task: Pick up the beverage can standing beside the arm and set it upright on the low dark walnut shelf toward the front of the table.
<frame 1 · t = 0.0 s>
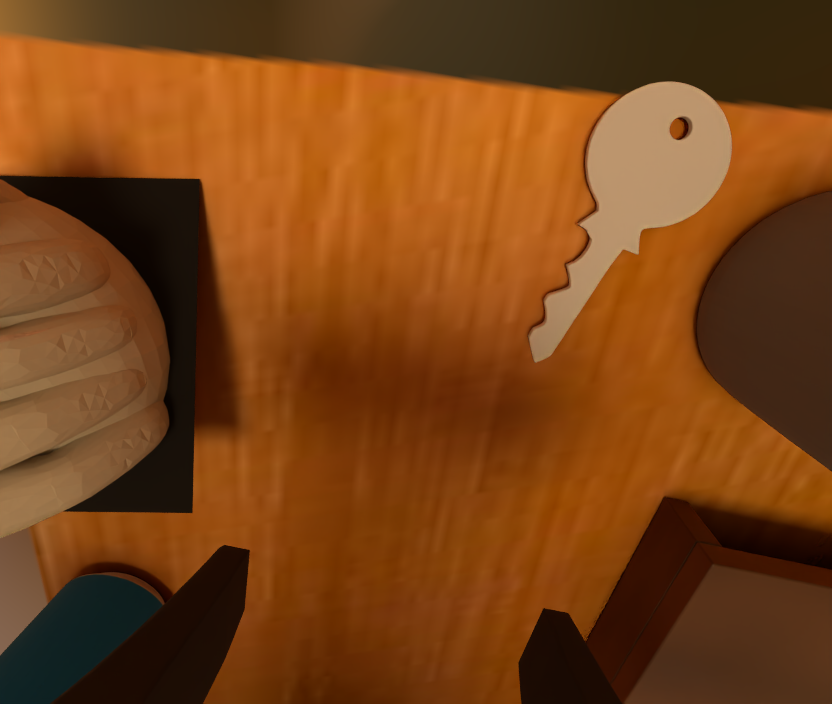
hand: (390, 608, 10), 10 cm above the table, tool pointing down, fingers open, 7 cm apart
shelf: (714, 617, 24), on the table
beverage can: (127, 599, 26), on the table
key: (542, 207, 16), on the table
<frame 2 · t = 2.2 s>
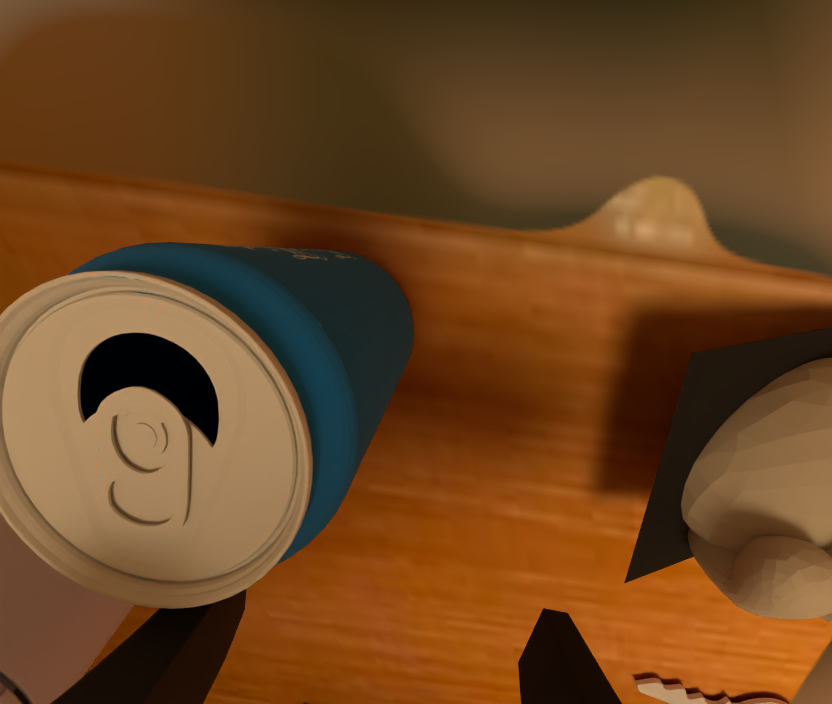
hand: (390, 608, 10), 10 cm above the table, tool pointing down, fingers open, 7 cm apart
beverage can: (341, 327, 18), on the table
key: (744, 684, 25), on the table
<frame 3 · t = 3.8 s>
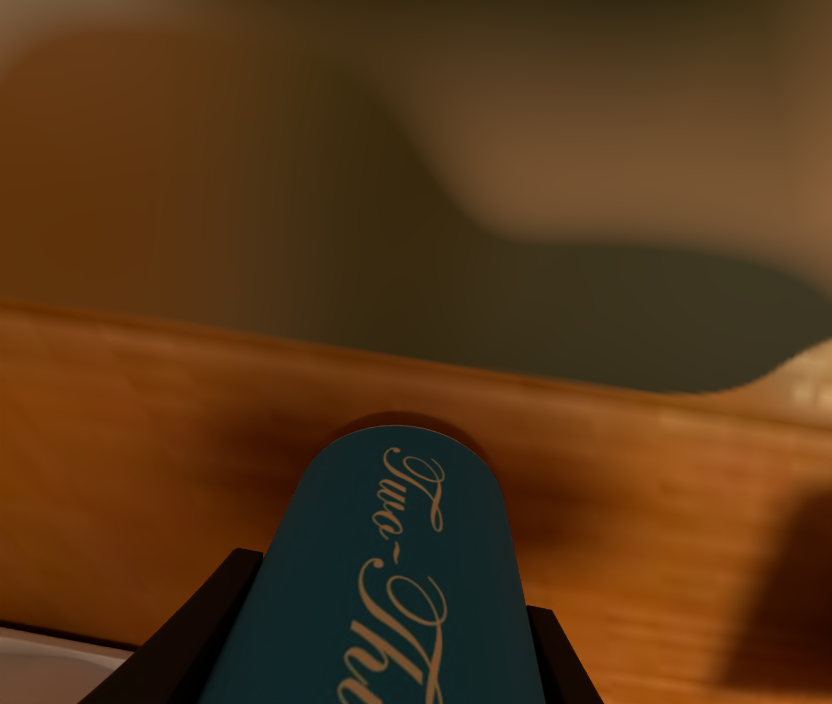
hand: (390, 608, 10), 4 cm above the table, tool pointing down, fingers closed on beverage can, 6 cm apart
beverage can: (402, 494, 14), on the table, touching gripper
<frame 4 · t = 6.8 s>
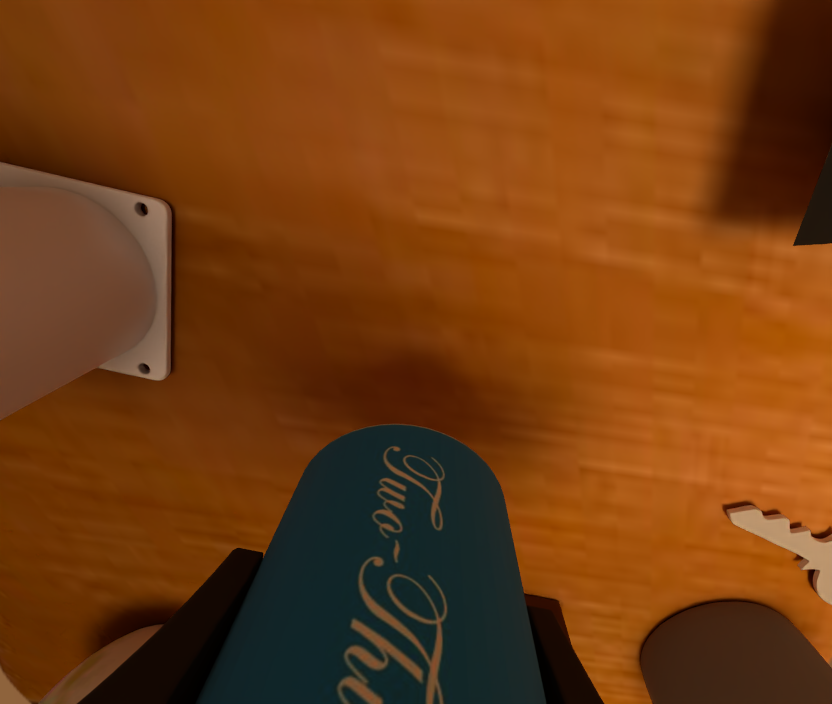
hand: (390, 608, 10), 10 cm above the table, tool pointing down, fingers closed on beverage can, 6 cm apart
decorative egg: (187, 662, 28), on the table
shelf: (415, 646, 26), on the table
mug: (698, 672, 26), on the table
beverage can: (402, 493, 14), point 6 cm above the table, touching gripper
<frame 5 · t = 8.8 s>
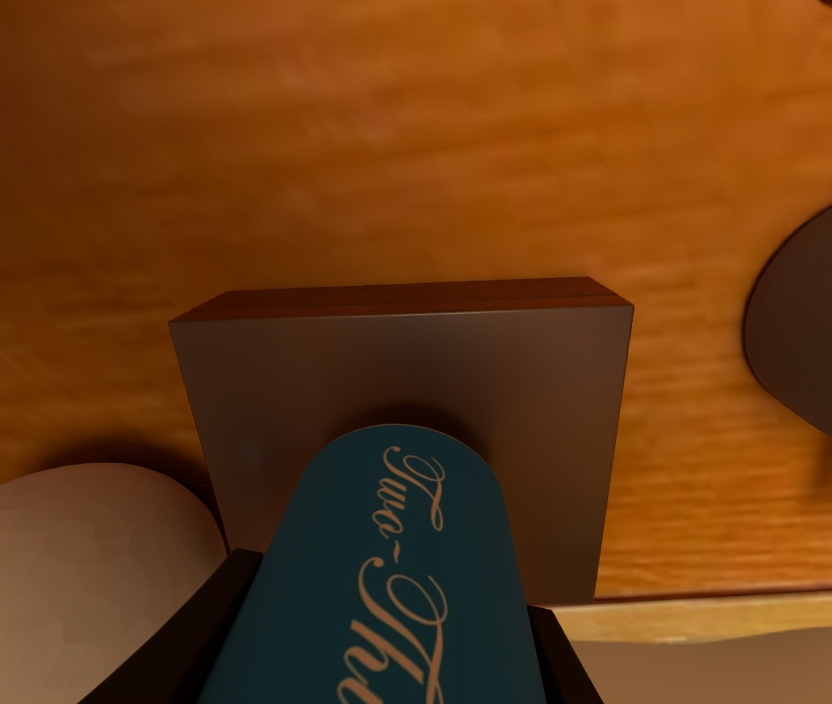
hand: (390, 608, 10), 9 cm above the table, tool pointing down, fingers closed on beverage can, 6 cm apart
decorative egg: (144, 526, 22), on the table
shelf: (411, 420, 19), on the table
beverage can: (402, 493, 14), point 5 cm above the table, touching gripper
when the fingers open (8 cm above the table, at t = 9.7 s): beverage can stays where it is, resting on shelf.
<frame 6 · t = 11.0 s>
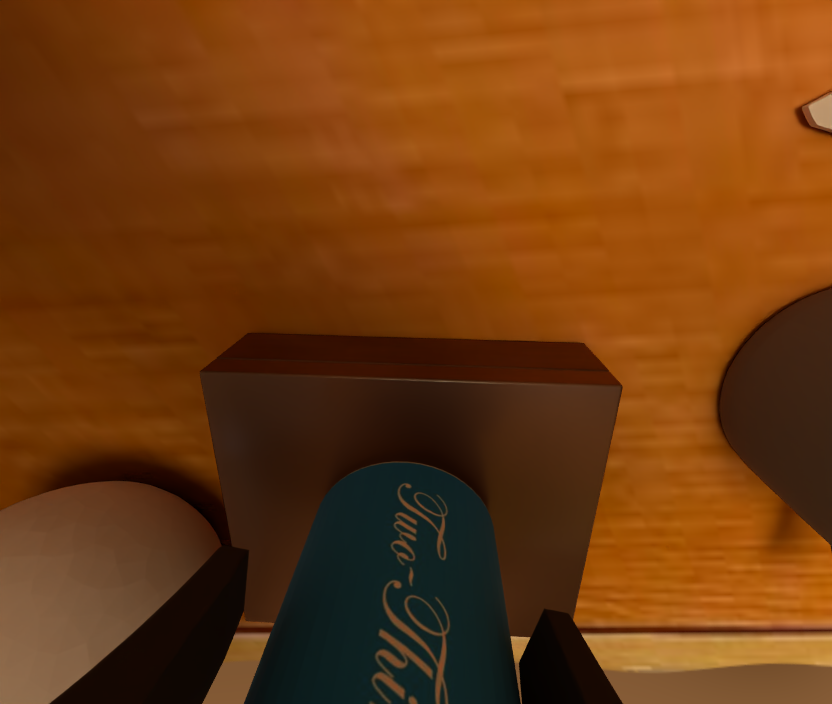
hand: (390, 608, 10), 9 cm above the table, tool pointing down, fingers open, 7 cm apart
decorative egg: (149, 539, 23), on the table
shelf: (411, 458, 20), on the table
mug: (808, 430, 19), on the table
beverage can: (405, 517, 16), point 4 cm above the table, touching shelf
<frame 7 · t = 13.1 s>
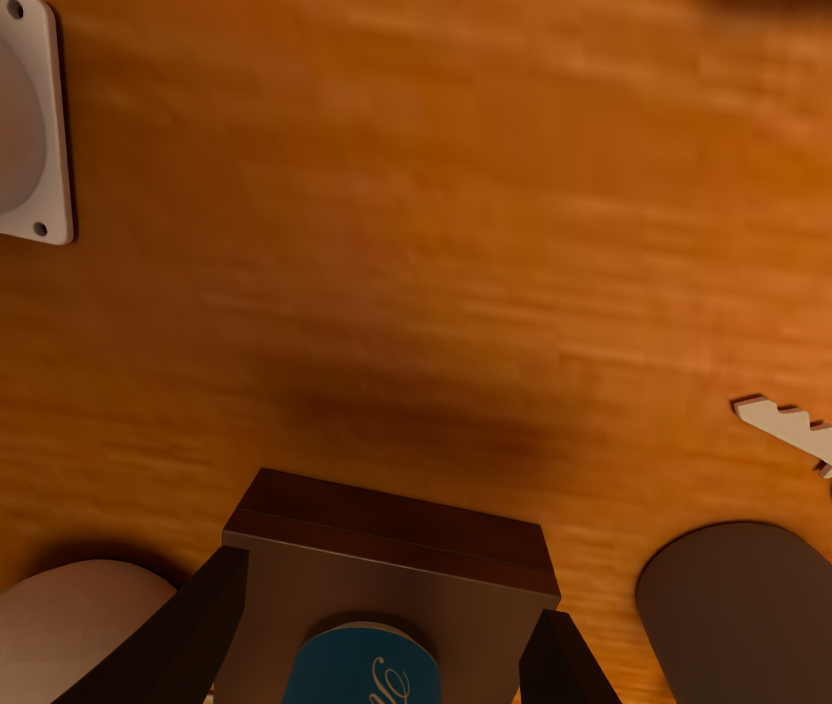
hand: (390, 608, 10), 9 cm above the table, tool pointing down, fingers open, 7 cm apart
decorative egg: (128, 607, 25), on the table
shelf: (380, 583, 23), on the table
mug: (703, 613, 23), on the table
beverage can: (370, 655, 20), point 4 cm above the table, touching shelf
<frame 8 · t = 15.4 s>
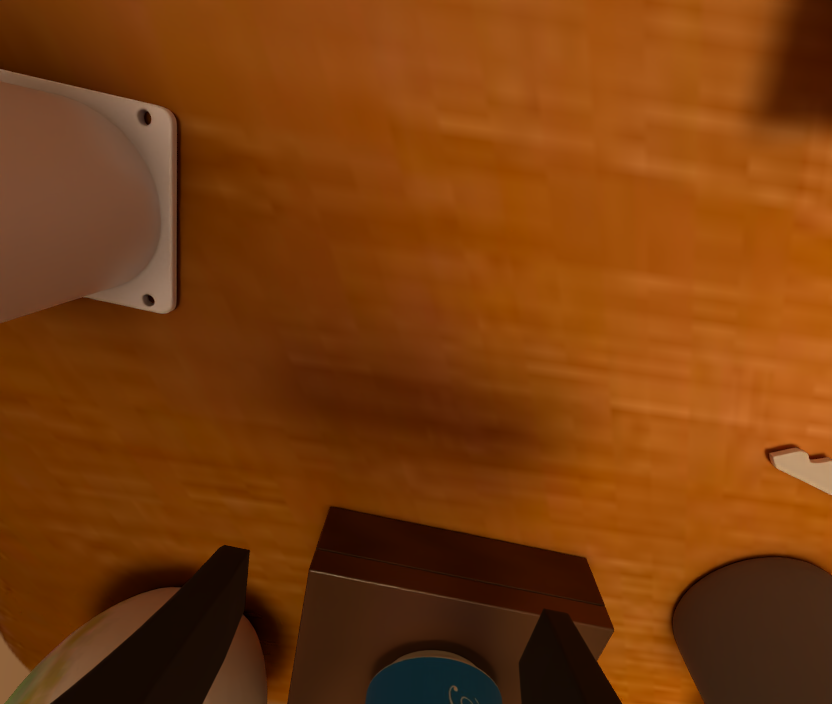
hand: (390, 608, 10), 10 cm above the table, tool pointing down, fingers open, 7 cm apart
decorative egg: (195, 629, 27), on the table
shelf: (434, 609, 25), on the table
mug: (733, 637, 25), on the table
beverage can: (433, 679, 21), point 4 cm above the table, touching shelf
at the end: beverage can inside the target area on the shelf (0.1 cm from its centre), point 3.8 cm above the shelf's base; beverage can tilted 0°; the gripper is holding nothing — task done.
